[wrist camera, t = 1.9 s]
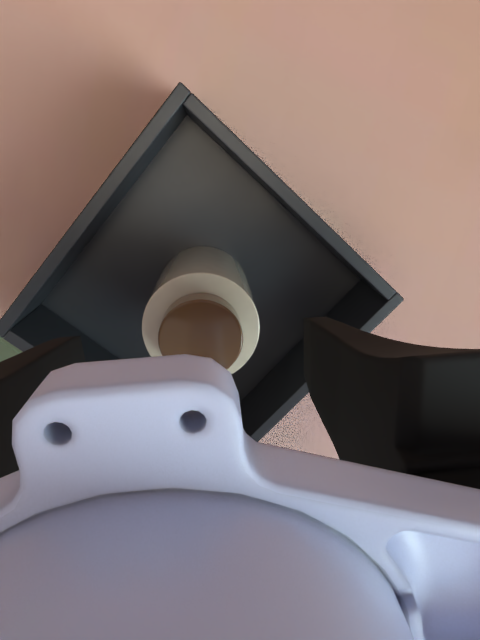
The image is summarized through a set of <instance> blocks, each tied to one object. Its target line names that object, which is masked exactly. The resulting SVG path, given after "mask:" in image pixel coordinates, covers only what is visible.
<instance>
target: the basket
mask: <svg viewBox="0 0 480 640" xmlns="http://www.w3.org/2000/svg"><path fill="white" fill-rule="evenodd" d="M201 246H206V247H213V248H216V249H219V250H222V251H224V252H226V253H227V254H229V255H230V256H232V257H233V258H234V259H235V260H236V261H237V262H238V263H239V264H240V266H241V267H242V269H243V271H244V273H245V275H246V277H247V281H248V284H249V287H250V290H251V293H252V296H253V299H254V303H255V306H256V309H257V312H258V316H259V322H260V334H259V340H258V343H257V346H256V348H255V350H254V352H253V354H252V356H251V357H250V359H249V360H248V361H247V362H246V363H245V364H244V365H243V366H242V367H241V368H240V369H239V370H237V371H236V372H235V373H233V374H231V375H232V377H233V380H234V383H235V385H236V388H237V390H238V393H239V400H240V408H241V416H242V424H243V429H244V430H245V432H246V434H247V435H249V436H250V437H251V438H252V439H253V440H255V441H256V442H258V441H259V440H260V439H261V438H262V437H263V436H264V435H265V434H266V433H267V432H268V431H270V430H271V429H272V428H273V427H274V426H275V425H276V424H277V423H278V422H279V421H280V420H281V419H282V418H283V417H284V416H285V415H286V414H287V413H288V412H289V411H290V410H291V409H292V408H293V407H294V406H295V405H296V404H297V403H298V402H299V401H300V400H301V399H302V398H303V397H304V396H305V395H307V394H308V393H309V390H308V387H307V383H306V379H305V376H304V318H311V317H328V318H331V319H334V320H336V321H339V322H341V323H344V324H347V325H349V326H352V327H354V328H357V329H359V330H362V331H365V332H368V333H370V332H371V331H372V330H373V329H374V328H375V327H376V326H377V325H378V324H380V323H381V322H382V321H383V320H384V319H385V318H386V317H387V316H388V315H389V314H390V313H391V312H392V311H393V310H394V309H395V308H396V307H397V306H398V305H399V304H400V303H401V302H402V301H403V300H404V299H403V297H402V296H401V295H400V294H399V293H397V292H396V291H395V290H394V289H393V288H392V287H391V286H390V285H389V284H388V283H387V282H386V281H385V280H384V279H383V278H382V277H381V276H380V275H379V274H378V273H377V272H376V271H375V270H374V269H373V268H372V267H371V266H370V265H369V264H368V263H367V262H366V261H365V260H363V259H362V258H361V257H360V256H359V255H358V254H357V253H356V252H355V251H354V250H353V249H352V248H351V247H350V246H349V245H348V244H347V243H346V242H345V241H344V240H343V239H342V238H341V237H340V236H339V235H338V234H337V233H336V232H335V231H334V230H333V229H332V228H331V227H330V226H328V225H327V224H326V223H325V222H324V221H323V220H322V219H321V218H320V217H319V216H318V215H317V214H316V213H315V212H314V211H313V210H312V209H311V208H310V207H309V206H308V205H307V204H306V203H305V202H304V201H303V200H302V199H301V198H300V197H299V196H298V195H297V194H296V193H295V192H293V191H292V190H291V189H290V188H289V187H288V186H287V185H286V184H285V183H284V182H283V181H282V180H281V179H280V178H279V177H278V176H277V175H276V174H275V173H274V172H273V171H272V170H271V169H270V168H269V167H268V166H267V165H266V164H265V163H264V162H263V161H262V160H261V159H260V158H258V157H257V156H256V155H255V154H254V153H253V152H252V151H251V150H250V149H249V148H248V147H247V146H246V145H245V144H244V143H243V142H242V141H241V140H240V139H239V138H238V137H237V136H236V135H235V134H234V133H233V132H232V131H231V130H230V129H229V128H228V127H227V126H226V125H224V124H223V123H222V122H221V121H220V120H219V119H218V118H217V117H216V116H215V115H214V114H213V113H212V112H211V111H210V110H209V109H208V108H207V107H206V106H205V105H204V104H203V103H202V102H201V101H200V100H199V99H198V98H197V97H196V96H195V95H194V94H192V93H191V92H190V91H189V90H188V89H187V88H186V87H185V86H184V85H183V84H182V83H181V82H180V83H178V85H177V86H176V87H175V89H174V90H173V91H172V93H171V94H170V95H169V97H168V98H167V99H166V101H165V102H164V103H163V105H162V106H161V107H160V109H159V110H158V111H157V113H156V114H155V115H154V117H153V118H152V119H151V121H150V122H149V123H148V124H147V126H146V127H145V128H144V130H143V131H142V132H141V134H140V135H139V136H138V138H137V139H136V140H135V142H134V143H133V144H132V146H131V147H130V148H129V150H128V151H127V152H126V154H125V155H124V156H123V158H122V159H121V160H120V162H119V163H118V164H117V166H116V167H115V168H114V170H113V171H112V172H111V174H110V175H109V176H108V178H107V179H106V180H105V181H104V183H103V184H102V185H101V187H100V188H99V189H98V191H97V192H96V193H95V195H94V196H93V197H92V199H91V200H90V201H89V203H88V204H87V205H86V207H85V208H84V209H83V211H82V212H81V213H80V215H79V216H78V217H77V219H76V220H75V221H74V223H73V224H72V225H71V227H70V228H69V229H68V231H67V232H66V233H65V235H64V236H63V237H62V238H61V240H60V241H59V242H58V244H57V245H56V246H55V248H54V249H53V250H52V252H51V253H50V254H49V256H48V257H47V258H46V260H45V261H44V262H43V264H42V265H41V266H40V268H39V269H38V270H37V272H36V273H35V274H34V276H33V277H32V278H31V280H30V281H29V282H28V284H27V285H26V286H25V288H24V289H23V290H22V292H21V293H20V294H19V295H18V297H17V298H16V299H15V301H14V302H13V303H12V305H11V306H10V307H9V309H8V310H7V311H6V313H5V314H4V315H3V317H2V318H1V319H0V337H2V338H3V337H4V338H3V339H4V340H6V341H7V342H9V343H10V344H12V345H13V346H15V347H16V348H18V349H19V350H21V351H22V352H24V351H26V350H28V349H30V348H33V347H35V346H37V345H39V344H42V343H44V342H47V341H49V340H52V339H55V338H60V337H71V336H80V337H81V342H82V347H83V351H84V356H85V361H86V362H95V361H107V360H120V359H132V358H144V357H151V356H150V354H149V352H148V350H147V349H146V346H145V343H144V340H143V336H142V318H143V313H144V310H145V308H146V305H147V303H148V301H149V299H150V296H151V294H152V292H153V290H154V287H155V285H156V283H157V281H158V279H159V276H160V274H161V272H162V270H163V268H164V267H165V265H166V264H167V263H168V261H169V260H170V259H171V258H173V257H174V256H175V255H176V254H178V253H180V252H181V251H184V250H186V249H189V248H193V247H201Z"/></svg>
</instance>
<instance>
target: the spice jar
mask: <svg viewBox="0 0 480 640" xmlns="http://www.w3.org/2000/svg"><path fill="white" fill-rule="evenodd" d="M259 334H260V322H259V316H258V312H257V309H256V306H255V303H254V299H253V296H252V293H251V290H250V287H249V284H248V281H247V277H246V275H245V273H244V271H243V269H242V267H241V266H240V264H239V263H238V262H237V261H236V260H235V259H234V258H233V257H232V256H230V255H229V254H227V253H226V252H224V251H222V250H219V249H216V248H213V247H206V246H201V247H193V248H189V249H186V250H184V251H181V252H180V253H178V254H176V255H175V256H174V257H173V258H171V259H170V260H169V261H168V263H167V264H166V265H165V267H164V268H163V270H162V272H161V274H160V276H159V279H158V281H157V283H156V285H155V287H154V290H153V292H152V294H151V296H150V299H149V301H148V303H147V305H146V308H145V310H144V313H143V318H142V336H143V340H144V343H145V346H146V349H147V350H148V352H149V354H150V356H151V357H156V356H169V355H181V354H188V355H195V356H201V357H208V358H212V359H213V360H215V361H216V362H217V363H219V364H220V365H221V366H222V367H224V368H225V369H226V370H228V371H229V372H230V373H231V374H233V373H235V372H236V371H237V370H239V369H240V368H241V367H242V366H243V365H244V364H245V363H246V362H247V361H248V360H249V359H250V357H251V356H252V354H253V352H254V350H255V348H256V346H257V343H258V340H259Z"/></svg>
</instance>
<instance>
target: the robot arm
mask: <svg viewBox="0 0 480 640" xmlns="http://www.w3.org/2000/svg"><path fill="white" fill-rule="evenodd" d="M304 376H305V379H306V383H307V387H308V390H309V393H310V396H311V399H312V401H313V403H314V405H315V407H316V409H317V411H318V413H319V415H320V418H321V420H322V422H323V424H324V426H325V428H326V430H327V432H328V434H329V436H330V438H331V440H332V442H333V444H334V446H335V449H336V451H337V454H338V456H339V459H340V460H339V459H334V458H330V457H325V456H320V455H316V454H311V453H306V452H301V451H297V450H292V449H287V448H283V447H278V446H273V445H268V444H264V443H259V442H256V441H255V440H253V439H252V438H251V437H250V436H249V435H247V434H246V432H245V430H244V429H243V424H242V416H241V408H240V400H239V393H238V390H237V388H236V385H235V383H234V380H233V377H232V375H231V373H230V372H229V371H228V370H226V369H225V368H224V367H222V366H221V365H220V364H219V363H217V362H216V361H215V360H213V359H212V358H208V357H201V356H195V355H188V354H181V355H169V356H156V357H144V358H132V359H120V360H107V361H95V362H86V361H85V356H84V351H83V347H82V342H81V337H80V336H71V337H60V338H55V339H52V340H49V341H47V342H44V343H42V344H39V345H37V346H35V347H33V348H30V349H28V350H26V351H24V352H22V353H19V354H17V355H15V356H13V357H10V358H8V359H6V360H3V361H1V362H0V640H480V349H452V348H439V347H430V346H422V345H415V344H409V343H405V342H400V341H396V340H391V339H387V338H384V337H380V336H377V335H374V334H371V333H368V332H365V331H362V330H359V329H357V328H354V327H352V326H349V325H347V324H344V323H341V322H339V321H336V320H334V319H331V318H328V317H311V318H304Z"/></svg>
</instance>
